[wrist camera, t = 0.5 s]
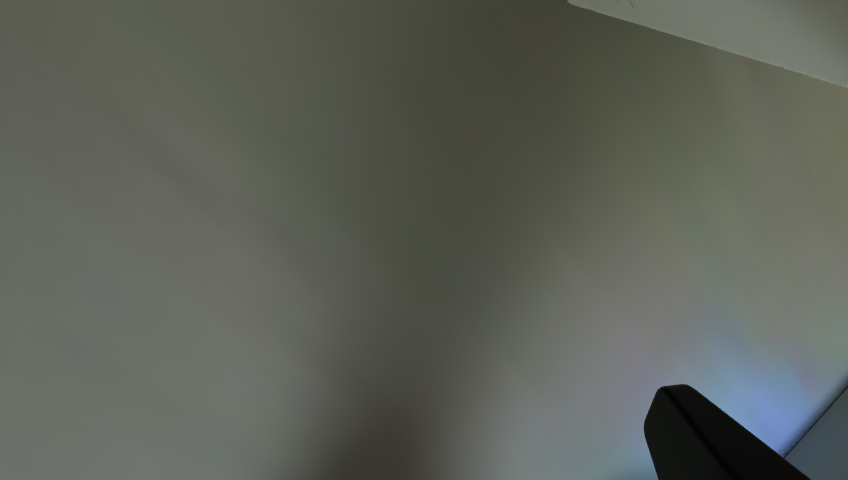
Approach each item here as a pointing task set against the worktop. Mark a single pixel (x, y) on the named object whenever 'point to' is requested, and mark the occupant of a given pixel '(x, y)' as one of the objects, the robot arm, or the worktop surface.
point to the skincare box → (751, 29)
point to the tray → (825, 445)
